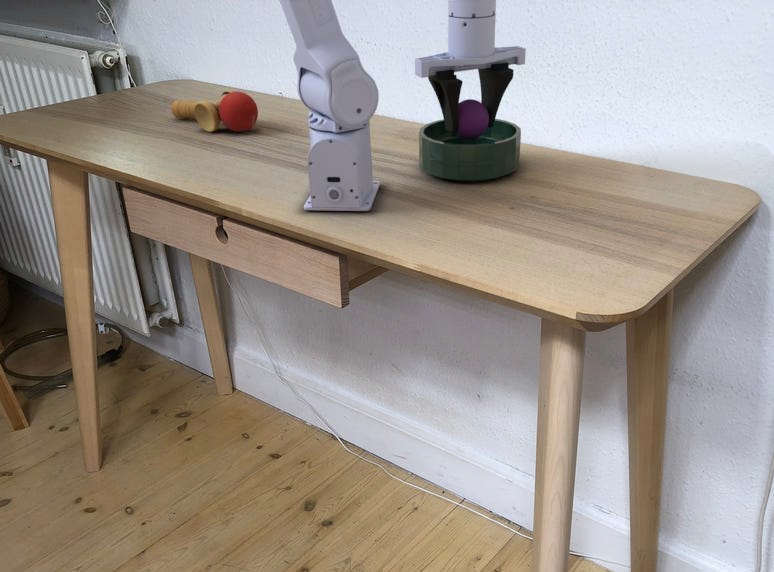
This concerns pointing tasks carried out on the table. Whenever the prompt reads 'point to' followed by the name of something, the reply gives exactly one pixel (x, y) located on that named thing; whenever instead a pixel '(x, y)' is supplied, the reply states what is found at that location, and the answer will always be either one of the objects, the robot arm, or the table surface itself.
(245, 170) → the table surface
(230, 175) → the table surface
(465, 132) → the ball
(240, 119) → the kendama
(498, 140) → the bowl
